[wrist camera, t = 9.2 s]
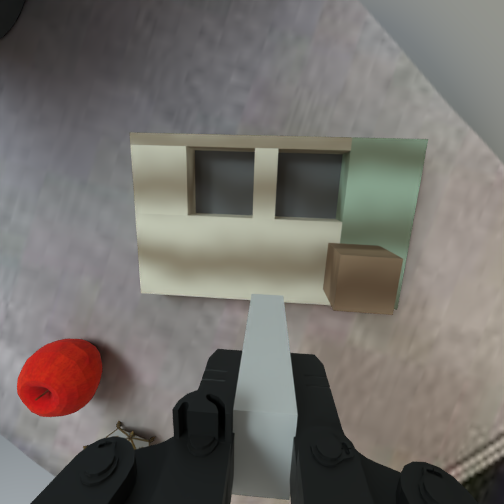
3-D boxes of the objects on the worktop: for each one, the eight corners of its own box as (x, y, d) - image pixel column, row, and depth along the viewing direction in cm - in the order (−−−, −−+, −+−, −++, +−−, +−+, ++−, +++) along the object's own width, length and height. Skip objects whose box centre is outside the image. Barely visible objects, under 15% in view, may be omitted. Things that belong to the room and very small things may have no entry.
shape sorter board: (145, 138, 26) (129, 132, 23) (409, 145, 24) (428, 139, 21) (154, 282, 29) (141, 293, 27) (384, 296, 28) (397, 309, 25)
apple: (119, 386, 33) (77, 440, 26) (59, 377, 34) (1, 429, 26) (117, 329, 31) (71, 371, 24) (54, 321, 32) (-10, 360, 25)
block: (328, 242, 24) (340, 254, 20) (379, 245, 24) (403, 258, 19) (322, 289, 25) (333, 310, 21) (371, 292, 25) (392, 314, 20)
